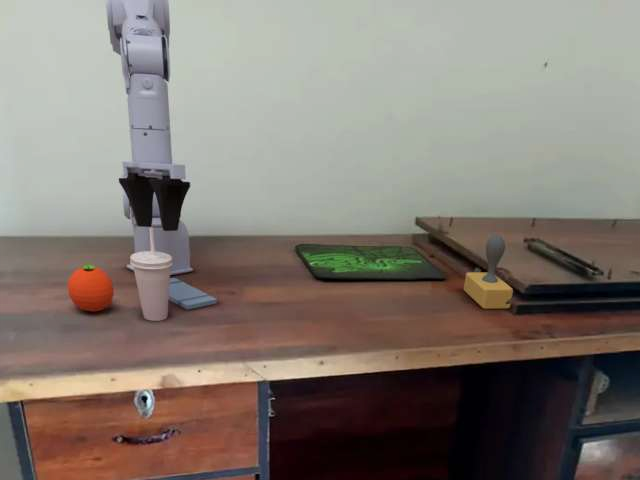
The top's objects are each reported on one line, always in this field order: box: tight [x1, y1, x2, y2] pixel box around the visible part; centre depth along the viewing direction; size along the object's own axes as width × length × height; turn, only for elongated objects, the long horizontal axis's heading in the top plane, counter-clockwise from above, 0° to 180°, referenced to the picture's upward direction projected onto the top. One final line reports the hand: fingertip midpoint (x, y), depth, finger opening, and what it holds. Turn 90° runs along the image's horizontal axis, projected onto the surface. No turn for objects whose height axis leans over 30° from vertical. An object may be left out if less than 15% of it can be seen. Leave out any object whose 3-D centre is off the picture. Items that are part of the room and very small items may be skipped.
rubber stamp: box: [463, 234, 514, 310], centre depth 144 cm, size 10×6×12 cm, turn 16°
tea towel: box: [168, 277, 218, 311], centre depth 134 cm, size 6×13×1 cm, turn 45°
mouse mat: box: [294, 243, 447, 281], centre depth 159 cm, size 27×22×1 cm
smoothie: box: [129, 227, 173, 322], centre depth 121 cm, size 6×6×14 cm
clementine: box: [67, 264, 115, 313], centre depth 124 cm, size 8×7×7 cm
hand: (157, 228), depth 118 cm, fingers open, 7 cm apart
